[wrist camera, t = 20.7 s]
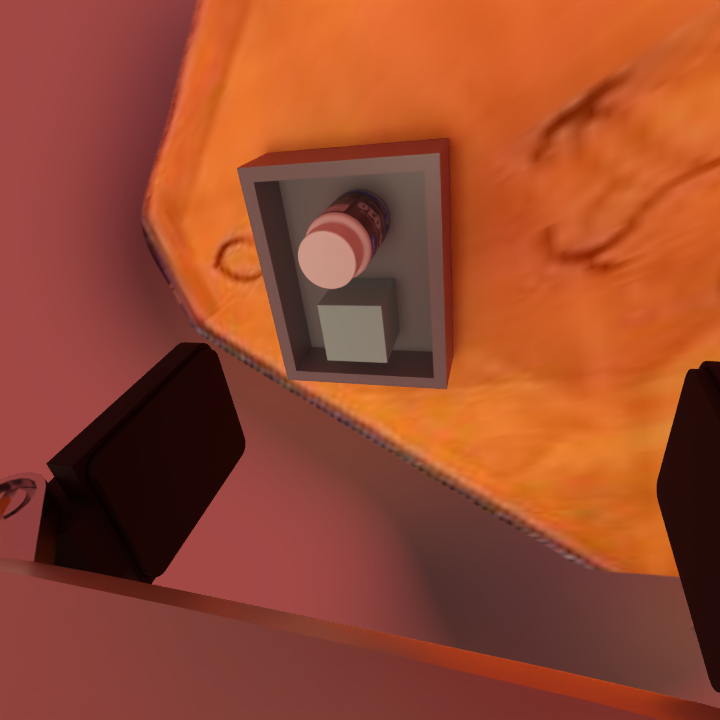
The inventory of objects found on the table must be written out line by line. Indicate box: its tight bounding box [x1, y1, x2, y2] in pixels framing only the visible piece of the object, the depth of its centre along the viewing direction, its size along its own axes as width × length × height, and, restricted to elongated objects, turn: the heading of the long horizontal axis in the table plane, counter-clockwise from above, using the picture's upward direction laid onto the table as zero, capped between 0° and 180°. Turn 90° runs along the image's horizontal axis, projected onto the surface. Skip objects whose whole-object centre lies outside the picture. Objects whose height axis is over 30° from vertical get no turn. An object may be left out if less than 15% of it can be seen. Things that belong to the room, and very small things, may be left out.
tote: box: [237, 138, 453, 389], centre depth 39 cm, size 18×14×5 cm
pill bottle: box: [298, 190, 390, 289], centre depth 35 cm, size 5×5×8 cm
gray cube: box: [317, 278, 399, 363], centre depth 40 cm, size 5×5×5 cm
